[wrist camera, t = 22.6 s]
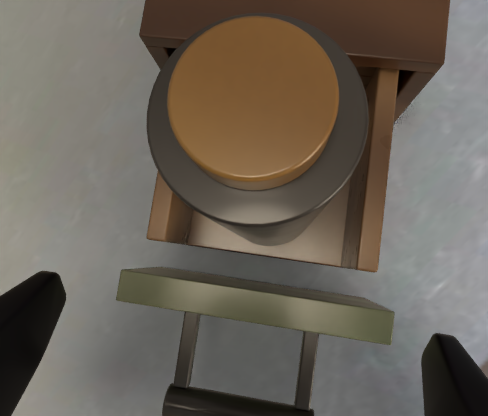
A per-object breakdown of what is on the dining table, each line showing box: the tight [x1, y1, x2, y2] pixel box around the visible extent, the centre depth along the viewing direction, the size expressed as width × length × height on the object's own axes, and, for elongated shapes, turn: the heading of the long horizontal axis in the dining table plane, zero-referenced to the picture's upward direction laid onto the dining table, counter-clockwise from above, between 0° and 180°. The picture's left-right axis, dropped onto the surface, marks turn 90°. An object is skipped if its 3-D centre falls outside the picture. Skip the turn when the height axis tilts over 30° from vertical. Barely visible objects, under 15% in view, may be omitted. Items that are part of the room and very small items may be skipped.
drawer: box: [116, 65, 399, 416], centre depth 18 cm, size 16×10×5 cm, turn 172°
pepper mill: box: [147, 13, 369, 246], centre depth 13 cm, size 4×4×13 cm
